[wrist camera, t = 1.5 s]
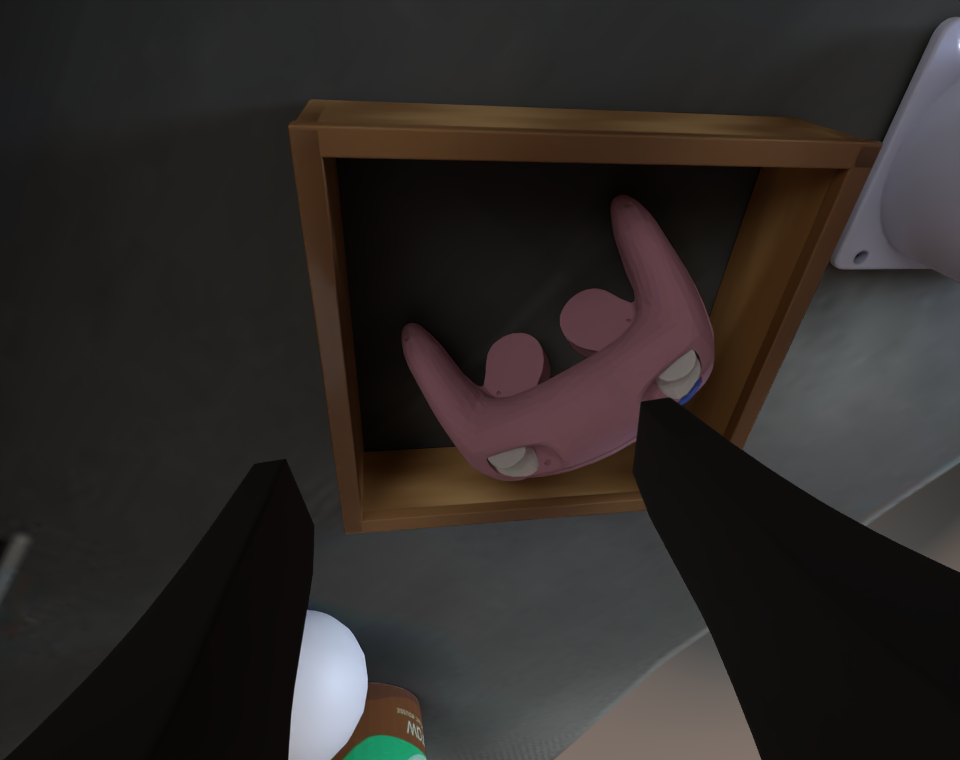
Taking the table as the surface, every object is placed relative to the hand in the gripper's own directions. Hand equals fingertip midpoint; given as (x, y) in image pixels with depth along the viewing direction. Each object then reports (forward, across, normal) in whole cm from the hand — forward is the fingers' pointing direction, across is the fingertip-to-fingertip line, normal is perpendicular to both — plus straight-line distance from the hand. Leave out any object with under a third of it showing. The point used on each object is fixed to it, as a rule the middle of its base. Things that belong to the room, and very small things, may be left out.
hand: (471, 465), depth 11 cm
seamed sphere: (+10, +11, +20) cm, 25 cm away
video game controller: (+10, -4, +2) cm, 11 cm away
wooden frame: (+10, -4, +2) cm, 11 cm away
